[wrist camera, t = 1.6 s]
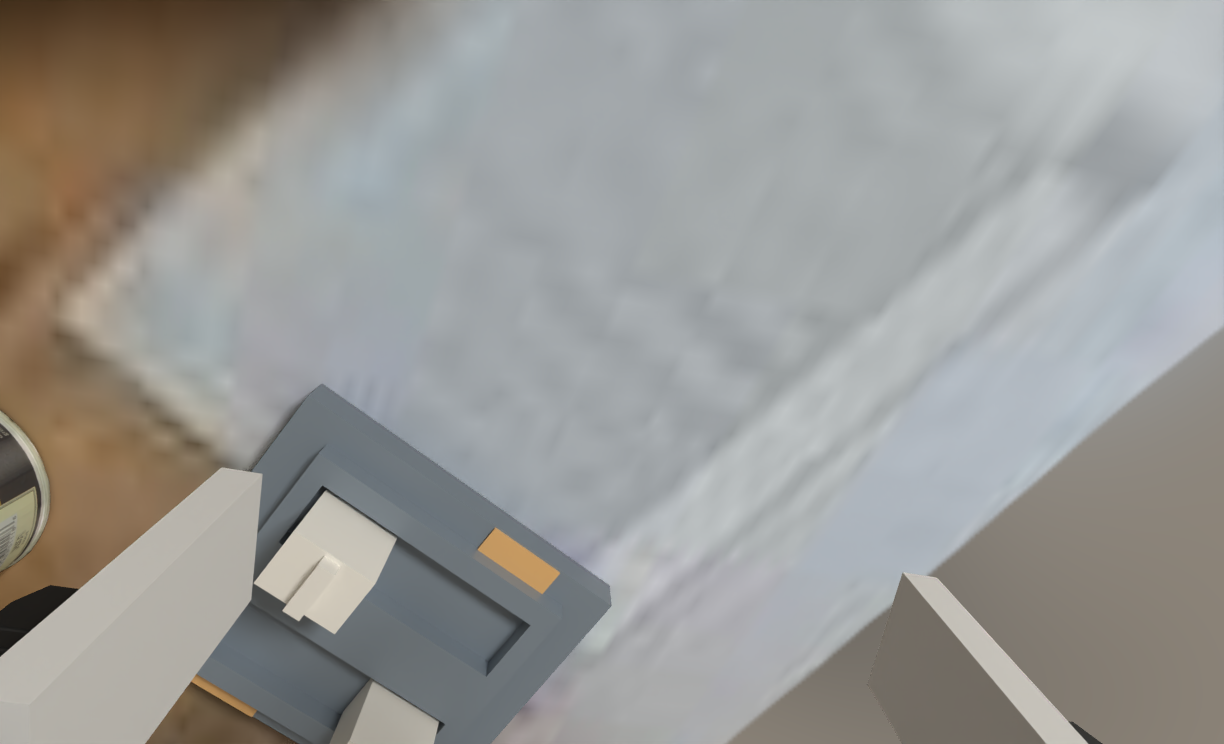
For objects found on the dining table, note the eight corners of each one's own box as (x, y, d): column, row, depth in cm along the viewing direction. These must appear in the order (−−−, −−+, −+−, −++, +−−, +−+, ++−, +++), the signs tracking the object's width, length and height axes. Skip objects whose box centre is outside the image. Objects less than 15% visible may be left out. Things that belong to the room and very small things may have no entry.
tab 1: (294, 530, 37) (245, 593, 31) (330, 484, 36) (287, 539, 31) (364, 576, 38) (328, 645, 32) (400, 531, 37) (370, 593, 32)
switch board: (146, 618, 40) (110, 655, 37) (322, 383, 37) (299, 402, 34) (431, 789, 43) (420, 836, 40) (609, 585, 41) (612, 619, 38)
